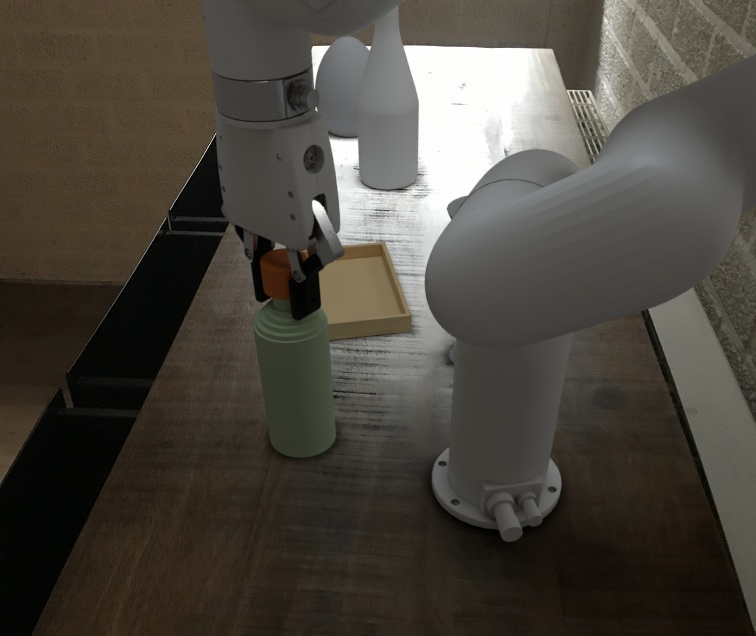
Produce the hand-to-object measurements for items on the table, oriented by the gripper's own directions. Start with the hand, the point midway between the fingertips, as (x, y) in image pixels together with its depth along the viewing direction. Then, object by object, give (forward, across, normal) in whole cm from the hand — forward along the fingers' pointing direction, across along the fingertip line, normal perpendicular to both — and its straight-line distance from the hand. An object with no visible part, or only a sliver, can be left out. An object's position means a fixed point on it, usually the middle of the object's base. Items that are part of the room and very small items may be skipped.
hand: (288, 302), depth 73 cm
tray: (+16, +16, -23) cm, 32 cm away
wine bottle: (+16, +35, -55) cm, 67 cm away
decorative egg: (+16, +55, -67) cm, 88 cm away
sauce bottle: (+16, 0, 0) cm, 16 cm away
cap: (-1, 0, 0) cm, 1 cm away
